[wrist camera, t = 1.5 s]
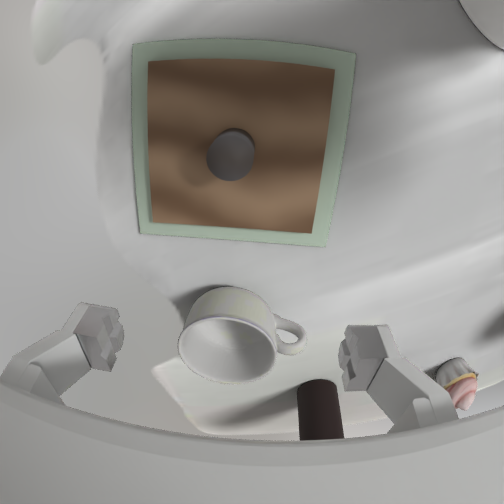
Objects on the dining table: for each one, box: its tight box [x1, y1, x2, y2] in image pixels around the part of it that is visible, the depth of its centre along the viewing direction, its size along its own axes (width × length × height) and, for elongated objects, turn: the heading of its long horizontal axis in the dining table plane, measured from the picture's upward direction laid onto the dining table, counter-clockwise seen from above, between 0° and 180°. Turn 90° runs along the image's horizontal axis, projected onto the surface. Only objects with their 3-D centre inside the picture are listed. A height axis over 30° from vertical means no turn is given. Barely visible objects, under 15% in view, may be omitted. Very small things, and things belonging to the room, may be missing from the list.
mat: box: [131, 39, 356, 247], centre depth 27 cm, size 20×20×1 cm
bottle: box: [297, 380, 344, 441], centre depth 39 cm, size 7×7×20 cm
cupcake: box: [436, 358, 479, 411], centre depth 41 cm, size 9×9×10 cm
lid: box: [147, 59, 335, 234], centre depth 25 cm, size 16×16×5 cm
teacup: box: [178, 287, 307, 384], centre depth 35 cm, size 14×11×8 cm
